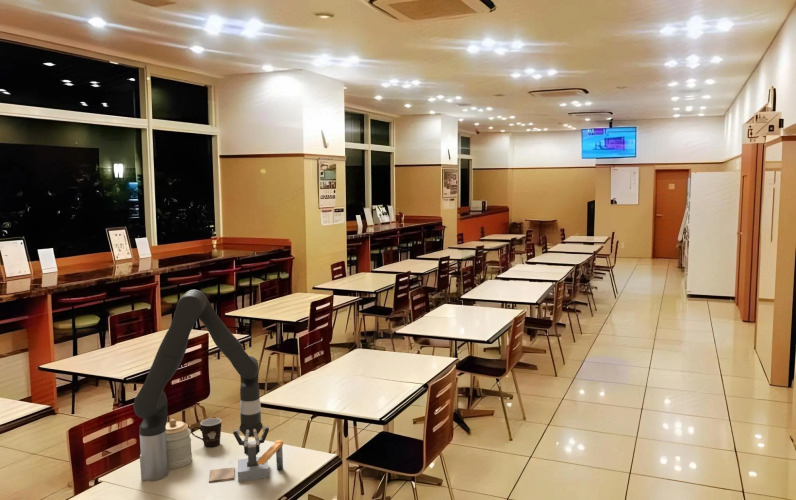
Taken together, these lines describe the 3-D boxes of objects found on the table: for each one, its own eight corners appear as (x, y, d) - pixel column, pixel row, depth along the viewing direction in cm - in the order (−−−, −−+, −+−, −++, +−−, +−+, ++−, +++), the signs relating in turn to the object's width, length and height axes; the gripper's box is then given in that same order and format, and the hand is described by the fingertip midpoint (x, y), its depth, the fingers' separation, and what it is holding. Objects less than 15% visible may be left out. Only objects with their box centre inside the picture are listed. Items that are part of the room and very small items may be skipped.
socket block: (238, 481, 226) (237, 472, 226) (238, 468, 237) (238, 459, 237) (268, 477, 229) (268, 468, 229) (267, 464, 240) (267, 456, 239)
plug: (248, 468, 231) (247, 445, 230) (248, 464, 234) (247, 441, 233) (256, 467, 232) (255, 444, 231) (256, 463, 235) (255, 441, 234)
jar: (193, 466, 239) (190, 422, 238) (157, 472, 235) (154, 427, 233) (191, 453, 252) (189, 411, 250) (157, 458, 247) (154, 416, 245)
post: (276, 471, 234) (276, 447, 233) (276, 468, 236) (275, 444, 235) (283, 470, 234) (282, 446, 233) (282, 467, 237) (282, 444, 236)
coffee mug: (225, 440, 263) (224, 418, 262) (218, 449, 255) (216, 426, 254) (199, 440, 264) (198, 417, 263) (191, 448, 256) (189, 425, 255)
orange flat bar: (276, 443, 236) (276, 439, 236) (284, 443, 236) (284, 440, 235) (256, 464, 219) (256, 460, 218) (264, 464, 218) (264, 461, 218)
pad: (208, 482, 226) (208, 480, 226) (210, 471, 234) (210, 470, 234) (234, 479, 228) (234, 477, 228) (234, 468, 237) (234, 467, 236)
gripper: (230, 415, 225) (232, 460, 227) (269, 411, 229) (271, 456, 230) (231, 408, 232) (233, 452, 234) (269, 404, 236) (270, 448, 238)
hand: (252, 453), depth 232 cm, fingers closed on plug, 3 cm apart
